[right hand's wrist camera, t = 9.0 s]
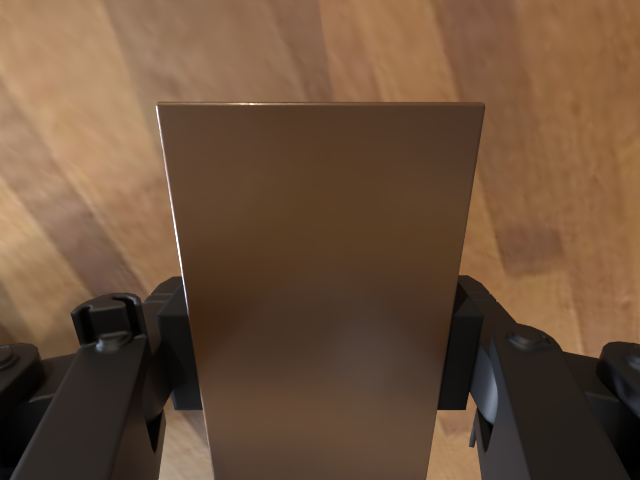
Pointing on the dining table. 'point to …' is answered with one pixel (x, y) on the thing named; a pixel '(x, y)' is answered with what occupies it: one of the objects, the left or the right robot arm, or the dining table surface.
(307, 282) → the post
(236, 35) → the dining table surface
